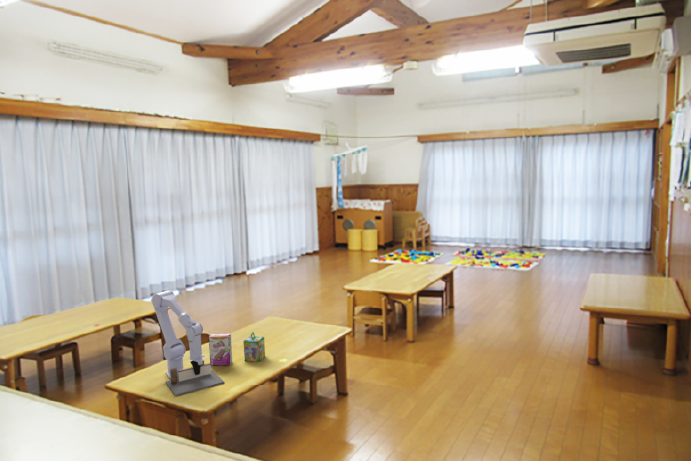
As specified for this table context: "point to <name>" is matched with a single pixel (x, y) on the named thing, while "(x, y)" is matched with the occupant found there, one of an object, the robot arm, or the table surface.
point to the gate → (189, 372)
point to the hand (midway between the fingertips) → (197, 374)
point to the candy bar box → (220, 349)
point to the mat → (195, 384)
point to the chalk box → (254, 348)
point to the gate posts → (175, 375)
